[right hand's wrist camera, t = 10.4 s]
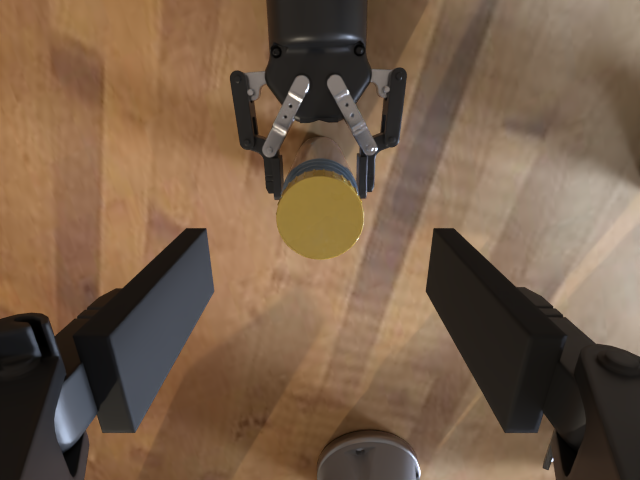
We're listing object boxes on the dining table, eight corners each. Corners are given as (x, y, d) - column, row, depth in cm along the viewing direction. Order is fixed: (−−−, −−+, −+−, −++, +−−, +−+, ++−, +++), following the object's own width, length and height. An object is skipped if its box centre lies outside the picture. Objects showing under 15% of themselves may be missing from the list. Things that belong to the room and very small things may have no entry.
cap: (325, 150, 19) (325, 155, 17) (377, 214, 20) (382, 224, 18) (262, 205, 20) (256, 214, 18) (315, 262, 21) (315, 276, 20)
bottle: (323, 125, 36) (326, 150, 17) (353, 163, 37) (385, 222, 19) (286, 157, 37) (254, 212, 19) (317, 193, 38) (314, 276, 20)
